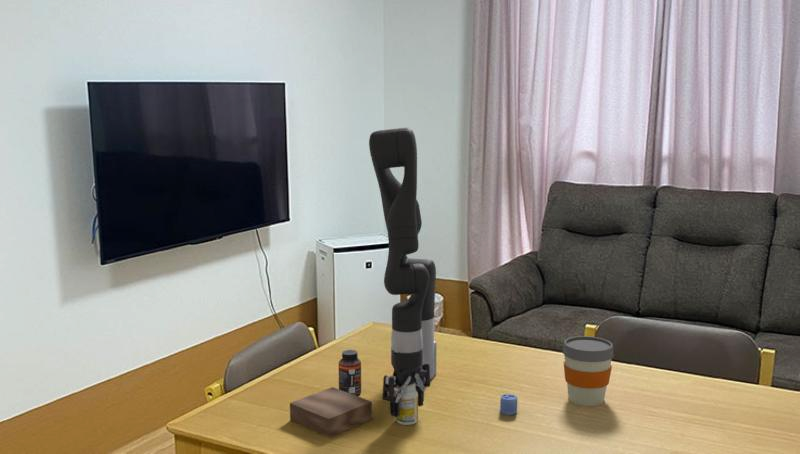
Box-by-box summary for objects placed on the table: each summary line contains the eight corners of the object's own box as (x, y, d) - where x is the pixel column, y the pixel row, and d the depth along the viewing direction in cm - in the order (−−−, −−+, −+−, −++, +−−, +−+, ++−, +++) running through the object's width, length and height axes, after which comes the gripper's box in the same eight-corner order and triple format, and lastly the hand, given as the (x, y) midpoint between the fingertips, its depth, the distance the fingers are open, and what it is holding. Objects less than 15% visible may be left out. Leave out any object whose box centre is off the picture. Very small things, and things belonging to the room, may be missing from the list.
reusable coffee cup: (615, 394, 217) (618, 339, 214) (605, 412, 206) (608, 354, 203) (567, 387, 222) (569, 333, 219) (556, 404, 211) (557, 347, 208)
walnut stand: (332, 403, 211) (332, 387, 211) (372, 419, 202) (371, 401, 201) (290, 420, 201) (289, 403, 200) (329, 437, 192) (328, 419, 191)
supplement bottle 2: (408, 427, 197) (408, 389, 195) (391, 421, 201) (391, 383, 199) (422, 420, 201) (422, 382, 199) (405, 414, 205) (405, 377, 203)
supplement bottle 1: (358, 398, 215) (357, 356, 213) (336, 396, 216) (335, 355, 214) (363, 389, 221) (363, 349, 219) (342, 388, 222) (341, 347, 220)
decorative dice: (516, 415, 204) (516, 400, 203) (499, 414, 204) (500, 399, 204) (517, 409, 208) (517, 394, 207) (501, 408, 208) (501, 393, 208)
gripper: (415, 336, 205) (415, 398, 208) (374, 350, 195) (375, 415, 198) (438, 342, 200) (437, 406, 203) (397, 357, 190) (398, 424, 193)
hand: (407, 410), depth 200 cm, fingers open, 8 cm apart
